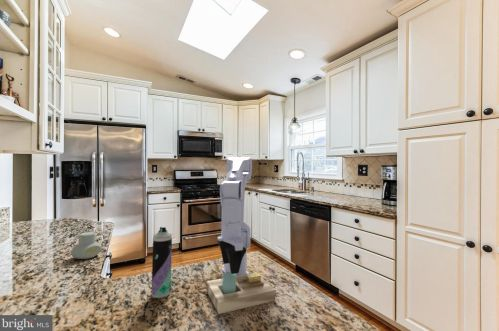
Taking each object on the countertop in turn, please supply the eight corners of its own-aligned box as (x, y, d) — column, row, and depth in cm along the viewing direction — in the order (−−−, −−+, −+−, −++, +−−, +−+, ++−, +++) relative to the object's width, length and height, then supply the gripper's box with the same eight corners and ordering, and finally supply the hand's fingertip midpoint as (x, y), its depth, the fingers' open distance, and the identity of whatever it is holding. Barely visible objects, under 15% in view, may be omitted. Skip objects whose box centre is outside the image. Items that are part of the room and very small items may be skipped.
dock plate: (206, 291, 72) (206, 278, 72) (255, 281, 79) (255, 269, 79) (218, 314, 60) (218, 299, 61) (275, 300, 67) (275, 287, 68)
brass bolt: (245, 282, 72) (245, 274, 72) (257, 280, 73) (257, 272, 73) (248, 286, 69) (249, 277, 69) (260, 283, 71) (261, 275, 71)
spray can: (151, 299, 67) (153, 229, 68) (151, 290, 72) (153, 225, 73) (171, 295, 69) (173, 228, 70) (170, 287, 74) (171, 224, 75)
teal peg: (220, 296, 69) (220, 272, 69) (233, 294, 71) (233, 270, 71) (224, 303, 65) (224, 278, 66) (237, 301, 67) (238, 276, 67)
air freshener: (93, 251, 107) (94, 229, 107) (105, 254, 103) (105, 231, 104) (66, 259, 97) (67, 235, 97) (78, 263, 94) (79, 237, 94)
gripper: (212, 217, 74) (211, 260, 74) (225, 227, 61) (224, 280, 60) (233, 216, 77) (232, 258, 76) (250, 225, 63) (249, 276, 63)
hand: (230, 267), depth 68 cm, fingers open, 7 cm apart
